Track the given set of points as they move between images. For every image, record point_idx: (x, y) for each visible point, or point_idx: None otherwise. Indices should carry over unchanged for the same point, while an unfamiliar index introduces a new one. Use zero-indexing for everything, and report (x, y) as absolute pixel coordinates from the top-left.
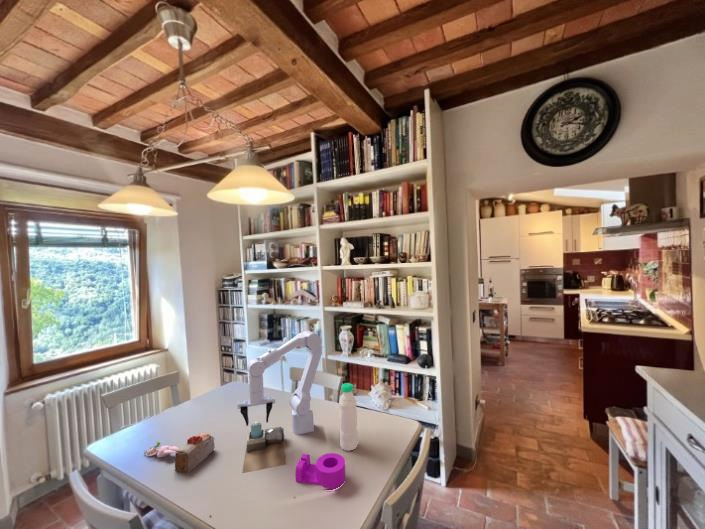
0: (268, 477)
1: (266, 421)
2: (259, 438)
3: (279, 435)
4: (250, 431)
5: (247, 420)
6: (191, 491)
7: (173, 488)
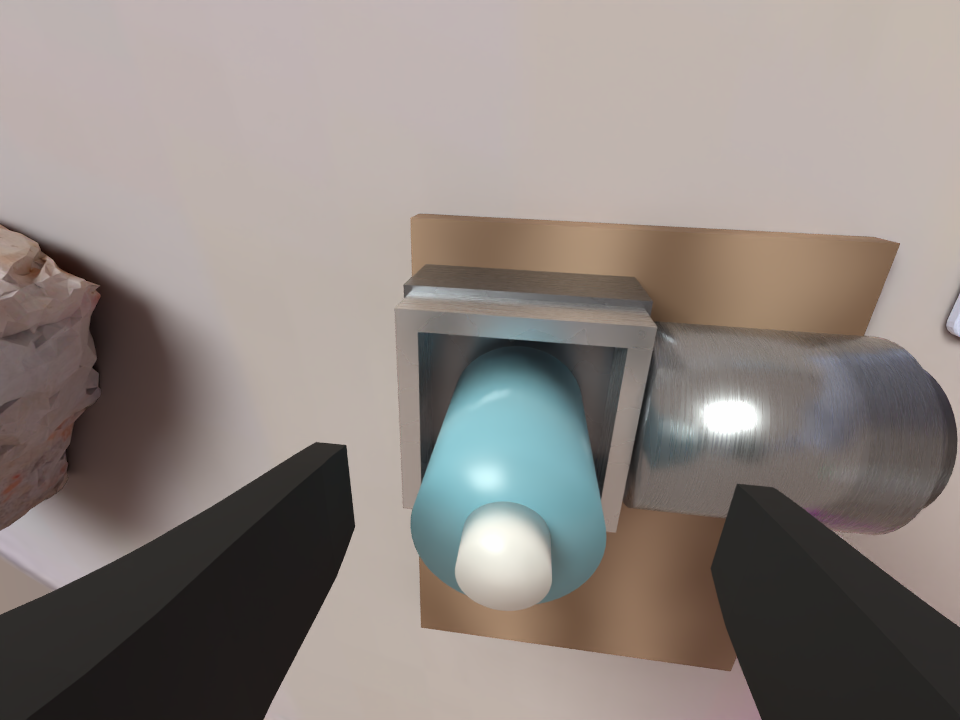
0: (589, 670)
1: (723, 601)
2: None
3: None
4: (424, 315)
5: (295, 653)
6: None
7: (50, 543)
